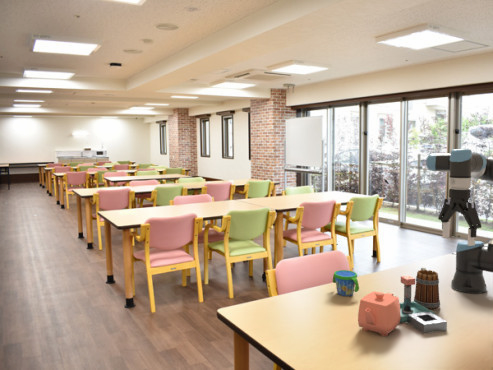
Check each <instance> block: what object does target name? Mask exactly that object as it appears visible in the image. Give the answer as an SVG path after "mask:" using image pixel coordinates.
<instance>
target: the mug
mask: <svg viewBox="0 0 493 370" xmlns="http://www.w3.org/2000/svg"><path fill="white" fill-rule="evenodd" d="M439 283H440V279H439V274H438V272H437V271H434V270H430V269H429V270H428V269H426V267H421V268H420V270H418V271H417V272H416V276H415V290H414V297H413V301H415V302H417V303H418V304H420V305H422V306H424V307H426V308H427V309H429V310H431V311H436V310H438V309H439V308H441V307H440V306H441V302H440V301H441V299H440V290H439V289H440V287H439Z"/></svg>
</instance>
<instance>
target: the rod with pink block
mask: <svg viewBox="0 0 493 370" xmlns="http://www.w3.org/2000/svg"><path fill="white" fill-rule="evenodd" d="M400 283H401V284H403V302H404V308H403V309H402V313H403V314H406V315H407V314H413V310H411V301H412V285H413V286H414V285H415V286H416V277H412V276H411V275H403V276H400Z"/></svg>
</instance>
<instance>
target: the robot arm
mask: <svg viewBox="0 0 493 370" xmlns="http://www.w3.org/2000/svg"><path fill="white" fill-rule="evenodd" d="M425 161H426V163H425V165H426V168H427V170H429V171H433V172H444V173H445V172H446V173H449V178H448V179H449V180H448V181H449V185H448V187H449V189H448V198H445V199H444V200H443V201H444V202H443V206H442V207H441V211H440V212H439V214H438V217H437V219H438V221H441V230H442V234H441V235H442V236H441V237H442V239H449V238H450V227H451V226H450V225H451V222H450V220H451V218H452V217H453V216H454V214H455V213H460V214H461V215H462V216H463V218H464V220H465V221H466V223H467V226H468V227H469V228H468V229H467V240H463V241H459V242H458V243H456V250H455V272H454V275H453V278H452V280H451V281H450V282H451V283H450V284H451V285H450V287H452V289H454V290H456V291H458V292H459V291H460V292H464V293H467V294H483V293H486V292H487V284H486V281H485V277H484V274H483V273H484V271H485V272H489V273H493V238H492V239H491V240H490V241H488V243H487V245H485V243H484V241H480V240H476V238H477V230H478V229H481V228H482V224H481V220H480V217H479V214H478V211H477V208H476V206H477V205H476V203H475V202H469V200H470V199H471V188H472V179H473V178H474V179H477V180H482V181H486V182H493V156H492V157H490V156H489V157H486V156H485V155H483V154H482V153H475V152H474V153H473V152H472V149H469V148H467V149H466V148H465V149H464V148H459V149H457V148H456V149H455V148H454V149H452V150H451V151H450V153H437V152H436V153H431V154H428V155H427V157H426V160H425Z"/></svg>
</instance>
